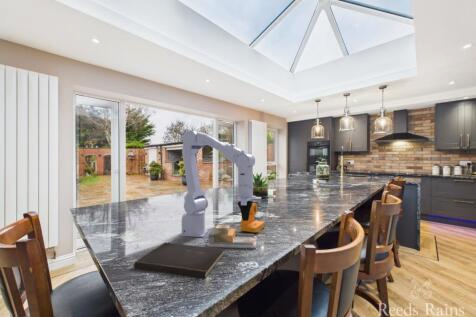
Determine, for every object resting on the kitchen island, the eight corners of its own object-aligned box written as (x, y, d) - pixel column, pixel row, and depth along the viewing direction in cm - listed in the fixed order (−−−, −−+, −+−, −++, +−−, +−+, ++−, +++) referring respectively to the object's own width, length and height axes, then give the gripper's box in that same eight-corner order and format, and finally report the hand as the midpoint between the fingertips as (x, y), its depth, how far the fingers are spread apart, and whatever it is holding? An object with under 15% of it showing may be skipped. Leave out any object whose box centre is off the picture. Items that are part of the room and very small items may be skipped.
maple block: (215, 241, 85) (215, 227, 85) (217, 237, 89) (217, 224, 89) (228, 241, 84) (228, 228, 84) (229, 237, 88) (229, 225, 88)
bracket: (255, 234, 95) (255, 206, 95) (240, 232, 98) (240, 204, 98) (264, 227, 104) (264, 201, 104) (250, 225, 108) (250, 200, 107)
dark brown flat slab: (165, 248, 82) (165, 242, 82) (224, 255, 76) (224, 248, 76) (133, 270, 66) (133, 262, 66) (205, 281, 60) (205, 272, 60)
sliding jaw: (227, 243, 82) (227, 235, 82) (230, 235, 90) (230, 228, 90) (232, 243, 82) (232, 235, 82) (235, 235, 90) (235, 228, 90)
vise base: (206, 246, 82) (206, 235, 82) (213, 236, 92) (212, 227, 92) (255, 248, 80) (255, 237, 80) (256, 238, 90) (256, 228, 90)
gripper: (255, 187, 78) (255, 226, 78) (256, 182, 92) (256, 215, 92) (235, 187, 78) (235, 225, 79) (239, 182, 93) (239, 215, 93)
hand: (245, 220), depth 85 cm, fingers closed
